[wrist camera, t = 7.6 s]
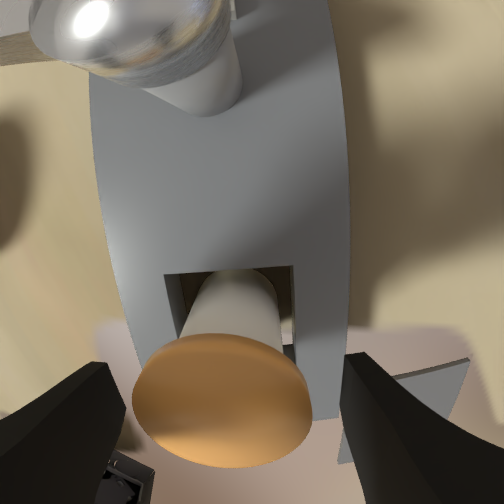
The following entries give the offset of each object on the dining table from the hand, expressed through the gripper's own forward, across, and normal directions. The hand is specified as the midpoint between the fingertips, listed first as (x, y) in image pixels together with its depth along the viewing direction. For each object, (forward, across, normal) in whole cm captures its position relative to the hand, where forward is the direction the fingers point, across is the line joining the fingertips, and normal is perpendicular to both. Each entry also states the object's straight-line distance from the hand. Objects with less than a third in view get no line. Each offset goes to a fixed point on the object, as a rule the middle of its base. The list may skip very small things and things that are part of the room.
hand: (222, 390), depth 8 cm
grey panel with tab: (+6, 0, -4) cm, 7 cm away
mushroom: (+6, 0, 0) cm, 6 cm away
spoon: (-2, +5, -11) cm, 12 cm away
